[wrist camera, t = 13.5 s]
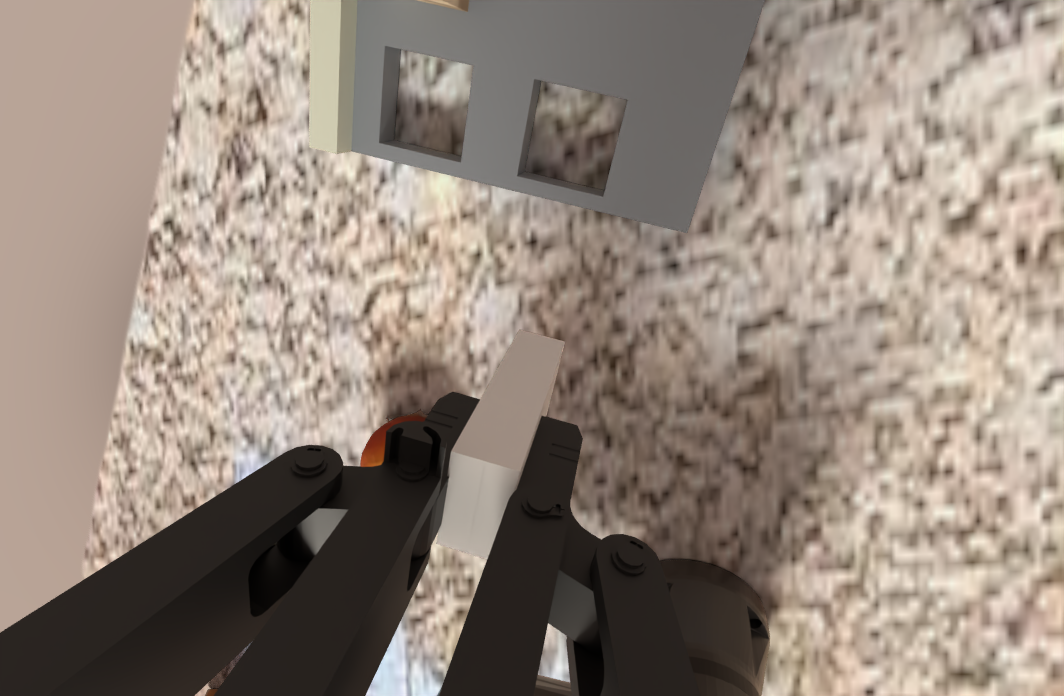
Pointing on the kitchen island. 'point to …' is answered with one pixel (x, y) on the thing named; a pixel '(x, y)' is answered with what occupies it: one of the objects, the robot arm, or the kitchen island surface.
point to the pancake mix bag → (211, 692)
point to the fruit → (376, 443)
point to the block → (450, 4)
